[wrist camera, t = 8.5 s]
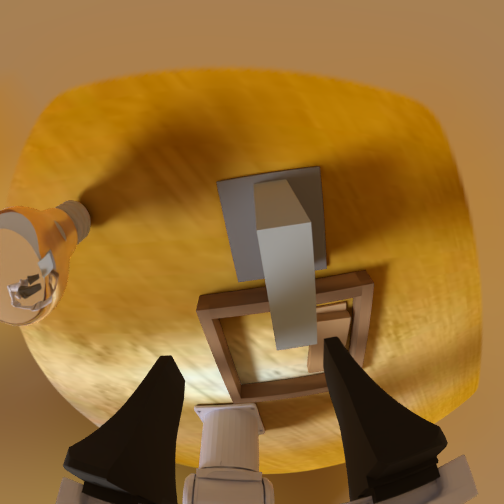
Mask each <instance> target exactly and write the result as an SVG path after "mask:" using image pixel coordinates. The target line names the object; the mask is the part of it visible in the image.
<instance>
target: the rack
mask: <svg viewBox="0 0 504 504" xmlns="http://www.w3.org/2000/svg"><path fill="white" fill-rule="evenodd" d="M315 289H316V304H321V303H327V302H332V301H338V300H343V299H348V298H353V312H352V324H351V335H350V345H349V353H350V354H351V356H352V357H353V358H354V359H355V361H356V362H357V363H358V364H359V365H360V367H361V368H362V366H363V360H364V355H365V349H366V343H367V337H368V330H369V323H370V316H371V308H372V299H373V290H374V282H373V281H372V279H371V278H370V276H369V275H368V273H367V272H366V270H363V271H358V272H352V273H347V274H341V275H335V276H330V277H324V278H318V279H315ZM196 312H197V315H198V317H199V320H200V323H201V326H202V328H203V331H204V333H205V336H206V339H207V341H208V344H209V346H210V349H211V351H212V354H213V356H214V359H215V361H216V364H217V366H218V369H219V371H220V373H221V376H222V378H223V380H224V383H225V385H226V387H227V390H228V392H229V394H230V397H231V399H232V401H233V403H234V404H238V403H251V402H261V401H271V400H279V399H286V398H293V397H300V396H306V395H312V394H318V393H323V392H328V391H329V390H328V387H327V383H326V379H325V373H322V374H316V375H311V376H305V377H299V378H292V379H285V380H278V381H270V382H262V383H252V384H242V385H241V383H240V380H239V377H238V374H237V372H236V369H235V366H234V363H233V360H232V357H231V354H230V351H229V348H228V345H227V342H226V339H225V336H224V333H223V330H222V327H221V324H220V321H219V318H226V317H234V316H242V315H250V314H257V313H264V312H270V306H269V300H268V294H267V288H266V287H260V288H253V289H246V290H239V291H232V292H224V293H217V294H209V295H201V296H199V301H198V305H197V309H196Z"/></svg>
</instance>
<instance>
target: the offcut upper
mask: <svg viewBox="0 0 504 504" xmlns="http://www.w3.org/2000/svg"><path fill="white" fill-rule="evenodd" d="M350 320H351V316H350V314H349V312H348V310H346V311H339V312H331V313H323V314H317V344H314V345H309V352H308V362H307V367H308V372H309V373H312V372H319V371H324V368H323V351H324V339H325V338H330V337H335V336H337V337H339V339H340V340H341V342H342V343H343V345H344V346H345V345H346V341H347V336H348V331H349V326H350Z"/></svg>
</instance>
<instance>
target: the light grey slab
mask: <svg viewBox="0 0 504 504" xmlns="http://www.w3.org/2000/svg"><path fill="white" fill-rule="evenodd" d="M253 187H254V201H255V215H256V229H257V236H258V241H259V247H260V253H261V259H262V265H263V271H264V276H265V282H266V288H267V294H268V300H269V306H270V312H271V318H272V324H273V330H274V336H275V342H276V348H277V350H283V349H290V348H296V347H302V346H308V345H314V344H317V314H316V289H315V270H314V254H313V240H312V227H311V221H310V219H309V218H308V216H307V214H306V212H305V211H304V209H303V207H302V205H301V204H300V202H299V200H298V199H297V197H296V195H295V194H294V192H293V190H292V188H291V187H290V185H289V183H288V182H287V180H286V179H283V180H276V181H270V182H263V183H257V184H253Z"/></svg>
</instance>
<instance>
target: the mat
mask: <svg viewBox="0 0 504 504" xmlns="http://www.w3.org/2000/svg"><path fill="white" fill-rule="evenodd" d="M283 179H286V180H287V182H288V183H289V185H290V187H291V188H292V190H293V192H294V194H295V195H296V197H297V199H298V200H299V202H300V204H301V205H302V207H303V209H304V211H305V212H306V214H307V216H308V218H309V219H310V221H311V227H312V240H313V254H314V270H321V269H327V265H326V242H325V224H324V210H323V197H322V185H321V175H320V167H319V166H315V167H307V168H299V169H291V170H284V171H276V172H270V173H263V174H257V175H250V176H244V177H239V178H233V179H227V180H222V181H217V182H216V183H217V187H218V192H219V197H220V202H221V206H222V211H223V215H224V220H225V225H226V229H227V234H228V238H229V243H230V247H231V252H232V256H233V260H234V265H235V269H236V274H237V278H238V282H243V281H250V280H257V279H264V278H265V276H264V271H263V265H262V259H261V253H260V247H259V241H258V236H257V229H256V215H255V201H254V187H253V184H257V183H263V182H270V181H276V180H283Z"/></svg>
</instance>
